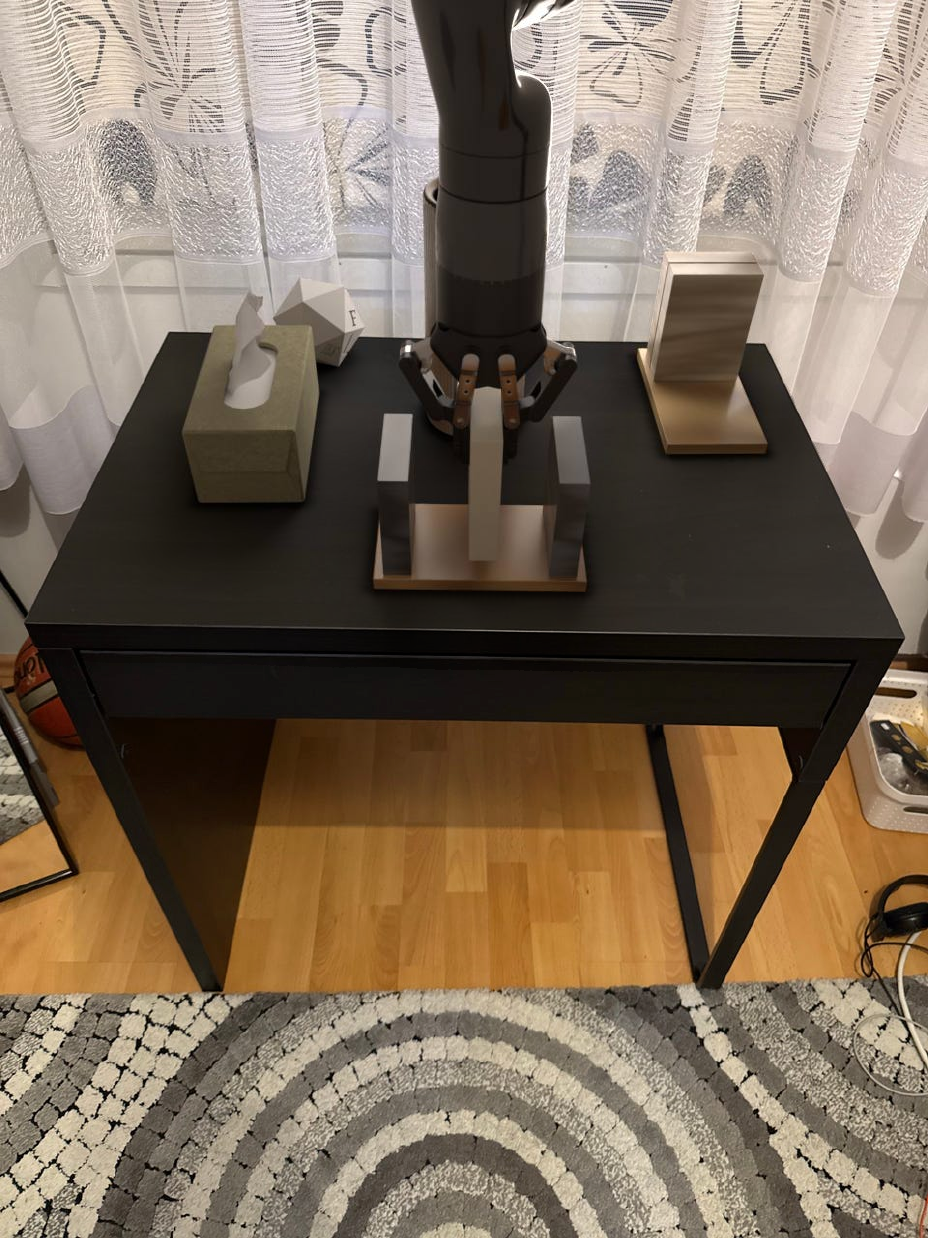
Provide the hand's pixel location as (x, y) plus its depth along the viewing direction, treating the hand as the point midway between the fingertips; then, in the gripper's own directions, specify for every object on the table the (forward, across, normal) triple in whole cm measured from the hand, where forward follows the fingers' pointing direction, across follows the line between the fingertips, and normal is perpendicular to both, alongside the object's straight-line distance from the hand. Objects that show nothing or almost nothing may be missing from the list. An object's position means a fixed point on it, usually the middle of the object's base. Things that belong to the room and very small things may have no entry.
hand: (484, 458), depth 75 cm
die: (+10, -18, +32) cm, 38 cm away
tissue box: (+10, -22, +15) cm, 28 cm away
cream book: (+7, 0, 0) cm, 7 cm away
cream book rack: (+10, +23, +24) cm, 35 cm away
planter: (+10, -1, +21) cm, 24 cm away
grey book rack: (+10, 0, 0) cm, 10 cm away
